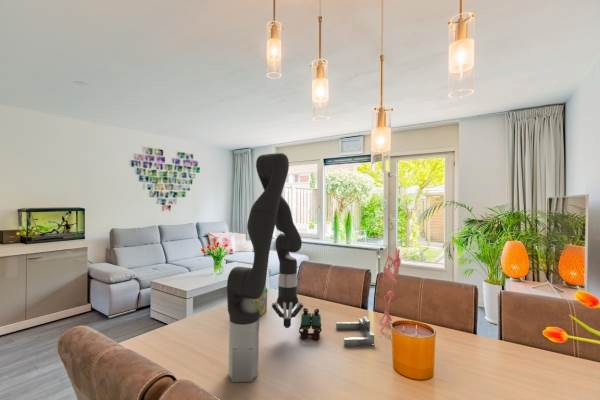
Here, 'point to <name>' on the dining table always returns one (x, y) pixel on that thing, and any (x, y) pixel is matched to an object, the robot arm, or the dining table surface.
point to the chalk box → (260, 302)
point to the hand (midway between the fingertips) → (287, 327)
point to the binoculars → (310, 324)
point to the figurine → (387, 272)
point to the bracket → (363, 326)
